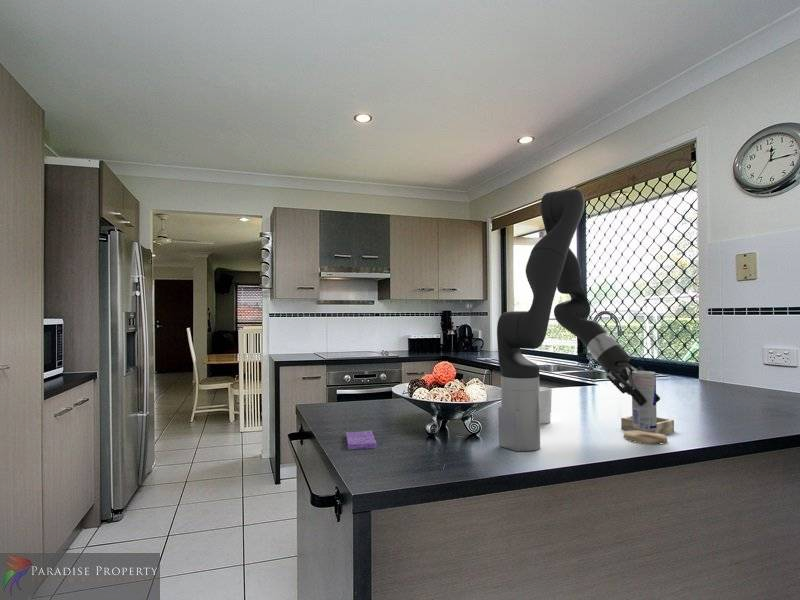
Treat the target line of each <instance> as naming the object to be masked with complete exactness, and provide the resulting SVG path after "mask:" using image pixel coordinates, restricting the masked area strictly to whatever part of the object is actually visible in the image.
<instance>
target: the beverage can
mask: <svg viewBox="0 0 800 600" xmlns="http://www.w3.org/2000/svg"><path fill="white" fill-rule="evenodd" d="M632 379H633V383H634V385H635V387H636V390H638V391H639V392H640V393H641V394H642V395H643V396H644V397H645V399H646V400H647V402H646V403H645V404H644V405H643V406H639V404H638V403H637V402H636V401H635V400H634V399H633V397H632V396H631V407H632V408H631V411H632V412H631V416H632V424H633V427H634V428H635V429H637V430H641V431H654V430H656V429H657V417H658V416H657V403H656V394H657V377H656V372H655V371H649V370H648V371H647V370H644V371H632Z"/></svg>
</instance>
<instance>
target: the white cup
mask: <svg viewBox="0 0 800 600" xmlns="http://www.w3.org/2000/svg"><path fill="white" fill-rule="evenodd" d="M552 390H553V389H552V388H550V387H546V386H539V393H540V425H543V424H549V423H551V413H552V398H553V397H552V395H553V391H552Z"/></svg>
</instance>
